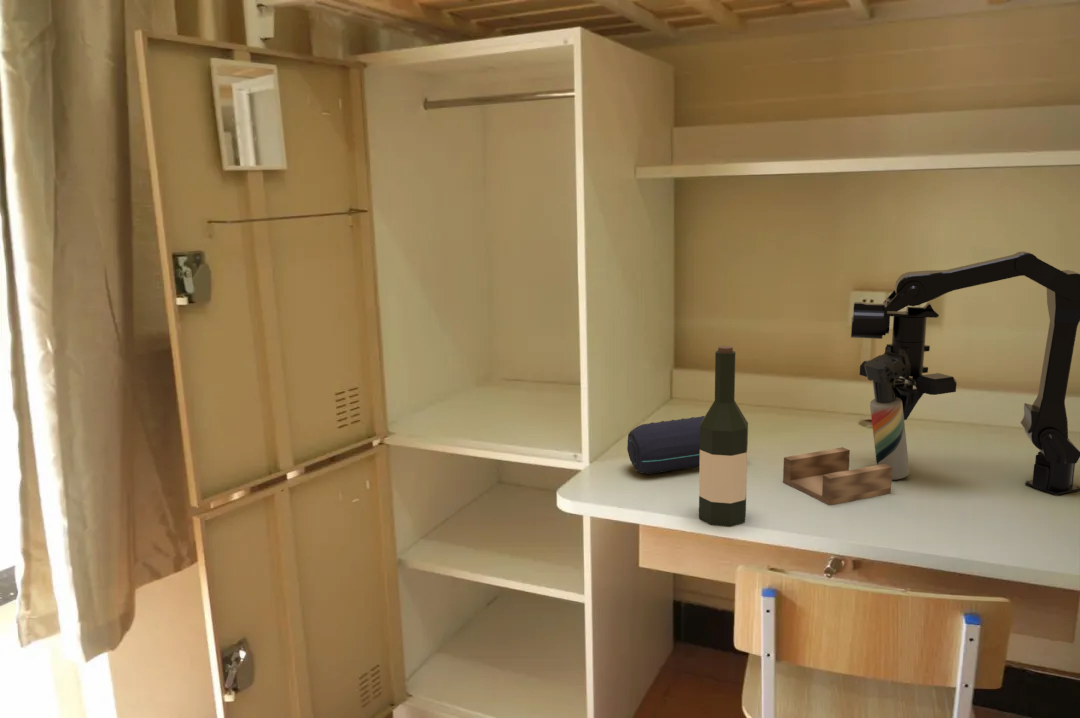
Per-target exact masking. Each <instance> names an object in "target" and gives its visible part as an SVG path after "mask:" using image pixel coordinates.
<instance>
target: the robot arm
mask: <svg viewBox="0 0 1080 718" xmlns="http://www.w3.org/2000/svg"><path fill="white" fill-rule="evenodd" d="M1020 276H1021V277H1022V276H1024V277H1026V278H1028V279H1030V280H1032V281H1033V282H1035V283H1037V284H1039V285H1041V286H1043V287H1044V288H1046V305H1047V311H1048V316H1049V317H1048V318H1049V324H1048V332H1047V338H1046V343H1045V348H1044V355H1043V362H1042V368H1041V373H1040V379H1039V387H1038V392H1037V393H1038V394H1037V396H1036V398H1035V400H1034V402H1033V403H1032V404H1030V403H1026V402H1025V403H1024V404H1023V418H1022V420H1020V424H1021V426H1022V427H1023V429H1024V433H1025V435H1026V436H1027V437H1028V439H1029V440H1030V441H1031V443H1032V444H1033V445H1034V446H1035V448H1037V449H1038V450H1039V451H1037V454H1036V455H1035V458H1034V459H1035V460H1034V464H1033V472H1032V479H1030V480H1026V481H1025V483H1024V484H1025V485H1026V486H1029V487H1032V488H1035V489H1037V490H1040V491H1043V492H1047V493H1049V494H1052V495H1054V496H1059V495H1065V494H1068V493H1073V492H1078V491H1080V486H1078V485H1075V484H1074V476H1075V468H1076V467H1075V466H1076V464H1077V463H1078V461H1079V459H1080V450H1079V449H1078V448H1077V446H1076V445H1075V444H1074V443H1073V442H1072V440H1070V439H1069V427H1068V422H1069V421H1068V415H1067V409H1066V397H1067V396H1066V395H1067V389H1068V386H1069V385H1068V384H1069V378H1070V373H1071V367H1072V361H1073V354H1074V348H1075V342H1076V337H1077V330H1078V326H1079V324H1080V272H1076V271H1074V270H1069V269H1064V270H1060V269H1059V268H1057V267H1055V266H1053V265H1051V264H1049V263H1047V262H1045V261H1043V260H1042V259H1040V258H1038V257H1037V256H1036V255H1035V254H1033V253H1030V252H1028V251H1024V250H1022V251H1017V252H1016V253H1013V254H1010V255H1006V256H1001V257H997V258H992V259H989V260H985V261H980V262H975V263H970V264H966V265H962V266H958V267H953V268H949V269H940V270H938V269H937V270H936V269H935V270H934V269H933V270H932V269H931V270H917V271H907V272H905V273H902V274H901V275H899V276H898V278H897V280H896V281H895V284H894V290H892V292H891V293H890V294H889V295H888V297H886V298H885V300H884V301H883V303H867V302H866V303H865V302H862V301H855V302H853V307H852V309H853V311H852V317H851V326H850V338H851V339H852V338H854V339H877V340H878V339H879V340H882V339H883V336H886V334H887V335H889V334H890V326H891V325H890V324H891V322H890V321H891V317H892V318H893V320H892V335H891V343H887V344H886V346H885V348H884V353H882V354H880V355H877V356H876V357H874V358H872V359H870V360H869V359H868V360H864V361H863V362H862V363H860V366H859V376H862V377H865V378H867V380H868V381H870V382H871V381H872V382H873V381H877V382H878V383H881V384H884V383H888V382H890V380H891V379H893V378H894V381H895V391H896V397H898V398H900V399H901V400H902V405H903V414H904V421H907V420H908V418H909V416H910V415H911V413H912V411H913V410H914V408H915V407H916V405H917V403H918V402H919V401H920V399H921V398H922V397H923V395H924V394H926V395H932V396H935V395H936V396H937V395H944V394H951V393H956V392H957V380H956V379H955V377H954V376H951V375H949V374H948V375H947V374H944V373H939V372H936V373H929V367H928V366H925V365H924V362H925V361H924V360H925V353H926V352H930V350H931V349H930V348H931V347H930V345H928V344H926V332H927V323H928V322H927V319H928V318H930V319H931V318H933V319H935V318H936V319H937V318H939V315H940V314H939V313H938V312H937V311H936V310H935V309H934V308H933V306H932V305H931V303H929V302H930V301H933V300H935V299H937V298H940V297H941V296H944V295H946V294H948V293H951V292H953V291H957V290H962V289H966V288H967V289H968V288H971V287H975V286H979V285H980V286H981V285H986V284H989V283H993V282H997V281H1003V280H1007V279H1012V278H1017V277H1020ZM925 303H926V305H924V306H920V305H922V304H925ZM919 306H920V307H919ZM904 308H906V310H902V309H904ZM901 310H902V311H901ZM925 373H928V374H925Z"/></svg>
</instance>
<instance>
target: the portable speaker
mask: <svg viewBox="0 0 1080 718" xmlns="http://www.w3.org/2000/svg"><path fill="white" fill-rule="evenodd" d="M704 417H705V415H702V416H694V417H689V418H688V417H687V418H681V419H671V420H662V421H658V422H650V423H643V424H639V425H638V426H636V427H634V428H633V429H632V430H630V432H628V435H627V446H626V447H627V448H626V450H627V455H628V457H629V460H630V462H631V464H632V466H633V468H634V469H635V471H636V472H637V473H640V474H649V475H652V474H658V473H664V472H665V473H666V472H670V471H672V472H673V471H677V470H684V469H685V470H686V469H691V468H698V467H699V468H700V425H701V422H702V420H703V418H704Z"/></svg>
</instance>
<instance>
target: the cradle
mask: <svg viewBox="0 0 1080 718" xmlns="http://www.w3.org/2000/svg"><path fill="white" fill-rule="evenodd" d="M850 452H851V450H850V449H848V448H845V447H843V446H842V447H835V448H831V449H826V450H825V449H824V450H819V451H814V452H812V451H811V452H808V453H807V452H806V453H802V454H801V453H800V454H796V455H789V456H784V457H783V470H782V471H783V473H782V479H783V480H782V482H783V483H784V484H786V485H788V486H790V487H792V488H794V489H796V490H798V491H800V492H802V493H804V494H806V495H808V496H809V497H812V498H814V499H816V500H818V501H820V502H822V503H824V504H826V505H828V506H832V505H839V504H843V503H848V502H853V501H857V500H863V499H867V498H873V497H878V496H883V495H887V494H891V493H892V482H893V481H892V467H891V466H889V465H886V464H880V465H877V464H875V465H871V466H865V467H864V466H863V467H860V468H855V469H850Z"/></svg>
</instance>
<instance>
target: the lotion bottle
mask: <svg viewBox="0 0 1080 718" xmlns="http://www.w3.org/2000/svg"><path fill="white" fill-rule="evenodd" d="M872 387H873V396H874V398H873V399H872V400H871V401H870V402H869V407H870V417H871V425H872V426H871V427H872V428H871V429H872V434H873V435H872V436H873V442H874V443H873V444H874V452H875V462H876V465H880V464H886V465H889V466H891V467H892V480H894V481H895V480H901V479H904V478H906V477H907V476H909V474H910V463H909V453H908V445H907V444H908V443H907V434H906V424H905V420H904V414H903V405H902V400H901V399H900V398H898V397H896V391H895V381H894V378H893V379H891V380H890V382H888V383H884V384H881V383H878V382H877V381H873V380H872Z"/></svg>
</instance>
